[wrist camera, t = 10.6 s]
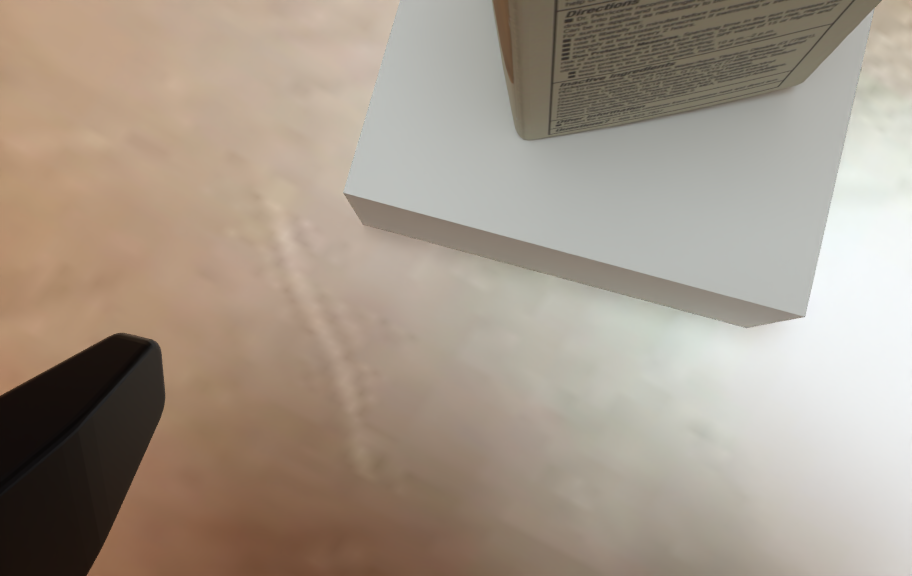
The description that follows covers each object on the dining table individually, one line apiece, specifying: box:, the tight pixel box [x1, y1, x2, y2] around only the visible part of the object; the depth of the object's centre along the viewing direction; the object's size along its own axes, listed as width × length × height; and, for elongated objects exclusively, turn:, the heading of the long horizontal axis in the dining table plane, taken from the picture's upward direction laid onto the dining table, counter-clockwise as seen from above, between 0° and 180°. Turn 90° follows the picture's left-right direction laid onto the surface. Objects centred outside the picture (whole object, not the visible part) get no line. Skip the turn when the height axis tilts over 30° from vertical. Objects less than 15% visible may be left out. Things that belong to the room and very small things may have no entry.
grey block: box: [343, 0, 874, 328], centre depth 19 cm, size 10×10×4 cm
